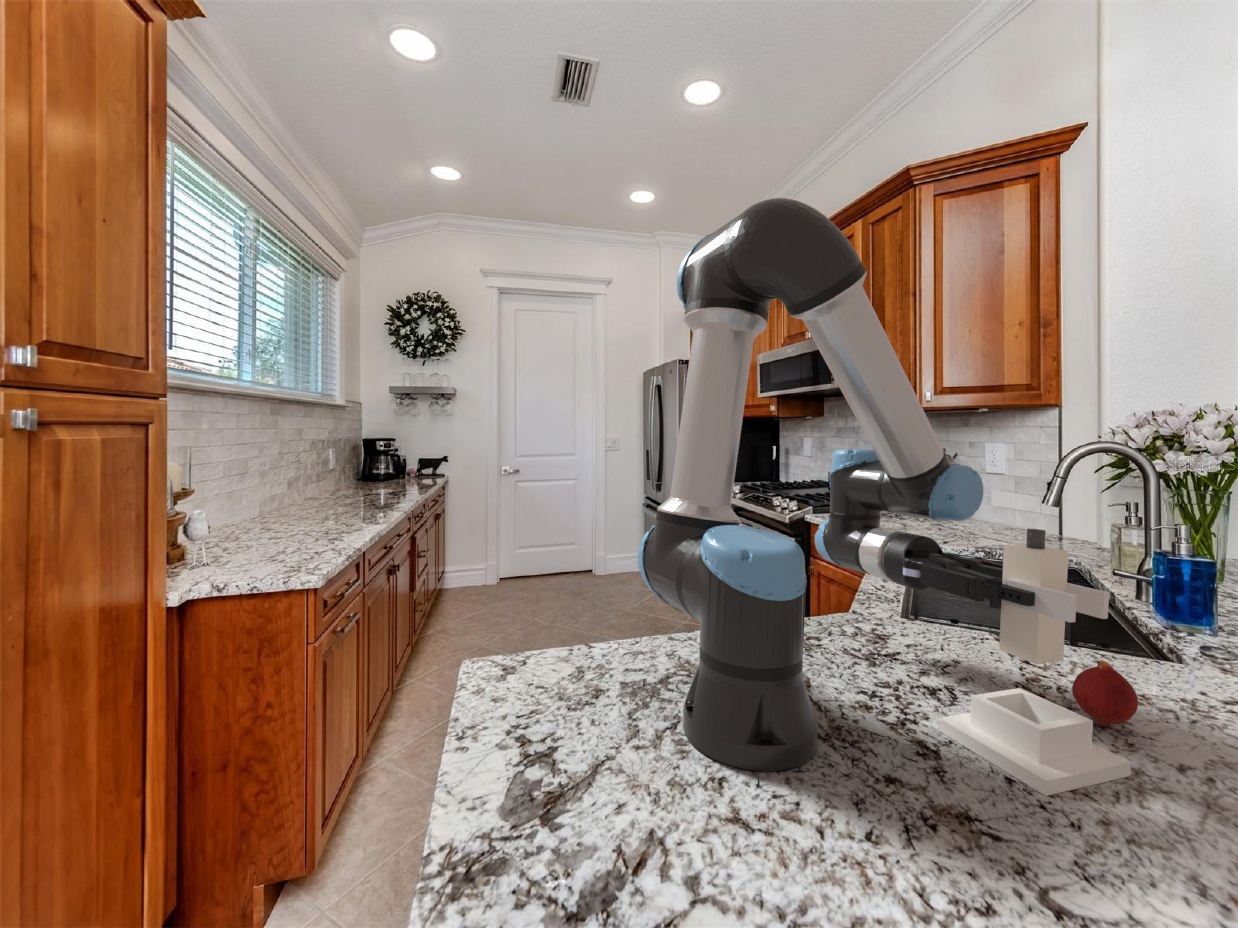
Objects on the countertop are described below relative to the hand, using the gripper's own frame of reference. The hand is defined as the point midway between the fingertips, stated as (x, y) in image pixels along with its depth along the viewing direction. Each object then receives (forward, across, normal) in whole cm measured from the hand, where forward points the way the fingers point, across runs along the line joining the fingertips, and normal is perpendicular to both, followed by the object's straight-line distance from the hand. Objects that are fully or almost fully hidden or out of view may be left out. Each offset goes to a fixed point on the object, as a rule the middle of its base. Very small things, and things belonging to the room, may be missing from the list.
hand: (1089, 607), depth 52 cm
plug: (-5, 0, -7) cm, 9 cm away
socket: (-5, 0, -18) cm, 19 cm away
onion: (-7, -15, -18) cm, 24 cm away
